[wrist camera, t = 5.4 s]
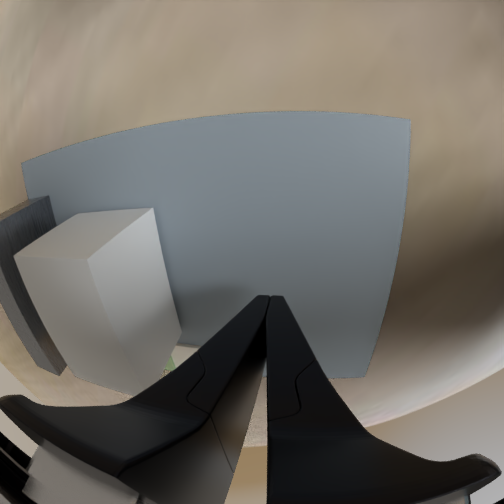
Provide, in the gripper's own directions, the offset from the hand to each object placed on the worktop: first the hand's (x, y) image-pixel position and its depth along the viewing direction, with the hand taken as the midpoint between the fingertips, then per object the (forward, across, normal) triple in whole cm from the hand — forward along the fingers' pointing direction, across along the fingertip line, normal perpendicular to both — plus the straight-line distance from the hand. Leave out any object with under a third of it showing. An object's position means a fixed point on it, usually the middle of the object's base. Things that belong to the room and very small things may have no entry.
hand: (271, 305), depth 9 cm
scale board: (+3, +4, 0) cm, 5 cm away
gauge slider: (+1, +6, +1) cm, 7 cm away
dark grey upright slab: (+2, +11, 0) cm, 12 cm away
